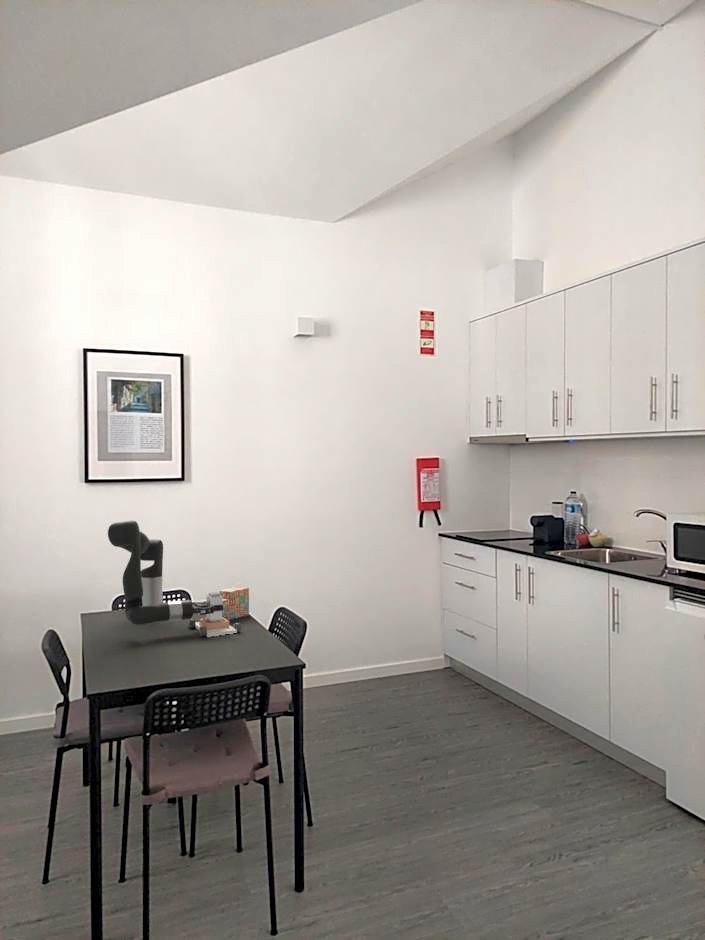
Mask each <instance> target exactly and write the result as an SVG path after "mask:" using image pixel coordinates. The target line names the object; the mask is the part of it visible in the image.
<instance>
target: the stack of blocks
mask: <svg viewBox="0 0 705 940" xmlns="http://www.w3.org/2000/svg"><path fill="white" fill-rule="evenodd" d="M249 591H250V588H249V587H246V586H233V587H229V588H225V589H221V590H219V592H218V593H219V594H220V595H221V596H222V605H223V610H222V616H224V615H227V616H228V619H229V621H231V620H230V619H232V620H235V619H234V618H236V619H239V618H243V617H247V616H249V615H250V593H249ZM204 602H206V600H205V601H204ZM247 614H248V615H247ZM245 615H246V616H245ZM242 616H243V617H242ZM238 617H239V618H238ZM204 618H206V614H205V615H204Z"/></svg>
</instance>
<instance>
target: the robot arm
mask: <svg viewBox="0 0 705 940" xmlns="http://www.w3.org/2000/svg"><path fill="white" fill-rule="evenodd" d="M107 537H108V541H109V542H110V544H111V545H112V546H113V547H115V548H121V549H124V550H125V551H127V552H129V553H130V558H129V560H128V563H127V564H126V567H125V569H124V572H123V575H122V588H123V595H124V611H125V613H124V614H125V617H126V619H127V621H128V622H130V623H131V624H133V625H136V626H137V625H139V626H140V625H146V624H151V623H155V622H167V621H168V622H169V621H170V622H171V621H183V620H184V621H185V620H189V619H193V615H194V614H196V615H200V616H205V614H211V613H214V611H222V610H223V605H215V606H213V605H212V606H208V605H207V604H206V602H205V601H201V602H200V601H199V602H198V601H196V602H195V601H193V602H192V601H191V600H190V599H184V600H171V601H167V602H163V565H164V564H163V562H164V561H163V559H164V544H163V541H162V539H149V537H148V536H147V535H146V534H145V533H144V532H142V531H140V526H139V524H138V523H137V521H136V520H126V521H118V522H114V523H111V524H110V525H109V527H108V528H107ZM141 561H145V562H153V564H152V565H150V566H148V567H144V568H142V569H141ZM209 609H211V611H210V610H209Z"/></svg>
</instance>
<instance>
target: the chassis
mask: <svg viewBox="0 0 705 940" xmlns="http://www.w3.org/2000/svg"><path fill="white" fill-rule="evenodd" d="M187 620H188V623H187V624H188V625H187V626H188V628H189V627H190V628H189V629H193V628H194V627H195V628H194V629H196V630H197V629H198V630H199V631H198V630H197V631H198V632H199V633H198V634H199V637H206V636H207V637H206V638H213V637H212V636H214V637H220V636H219V635H222V636H226V635H225V634H230V635H234V634H233V633H237V634H238V633H240V632H241V631H242V624H241V623H240V622H235V623H233V625H232V626H231V625H230V620H229V619H228V616H227V615H224V616H222V622H213V623H207V622H206V618H205V617H204V618H199V619H198V622H197V621H196V619H195V618H191V619H187Z"/></svg>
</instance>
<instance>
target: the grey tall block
mask: <svg viewBox="0 0 705 940" xmlns="http://www.w3.org/2000/svg"><path fill="white" fill-rule="evenodd" d="M205 599H206V600H205V601H206V604H207V605H208V606H212V605H213V606H215V605H222V596H221V595H220V594H219V592H217V591H216V592H208V594H207V595H206V598H205ZM209 610H210V611H211V609H209ZM206 622H207V623H213V622H222V611H214V613H211V614H206Z"/></svg>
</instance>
